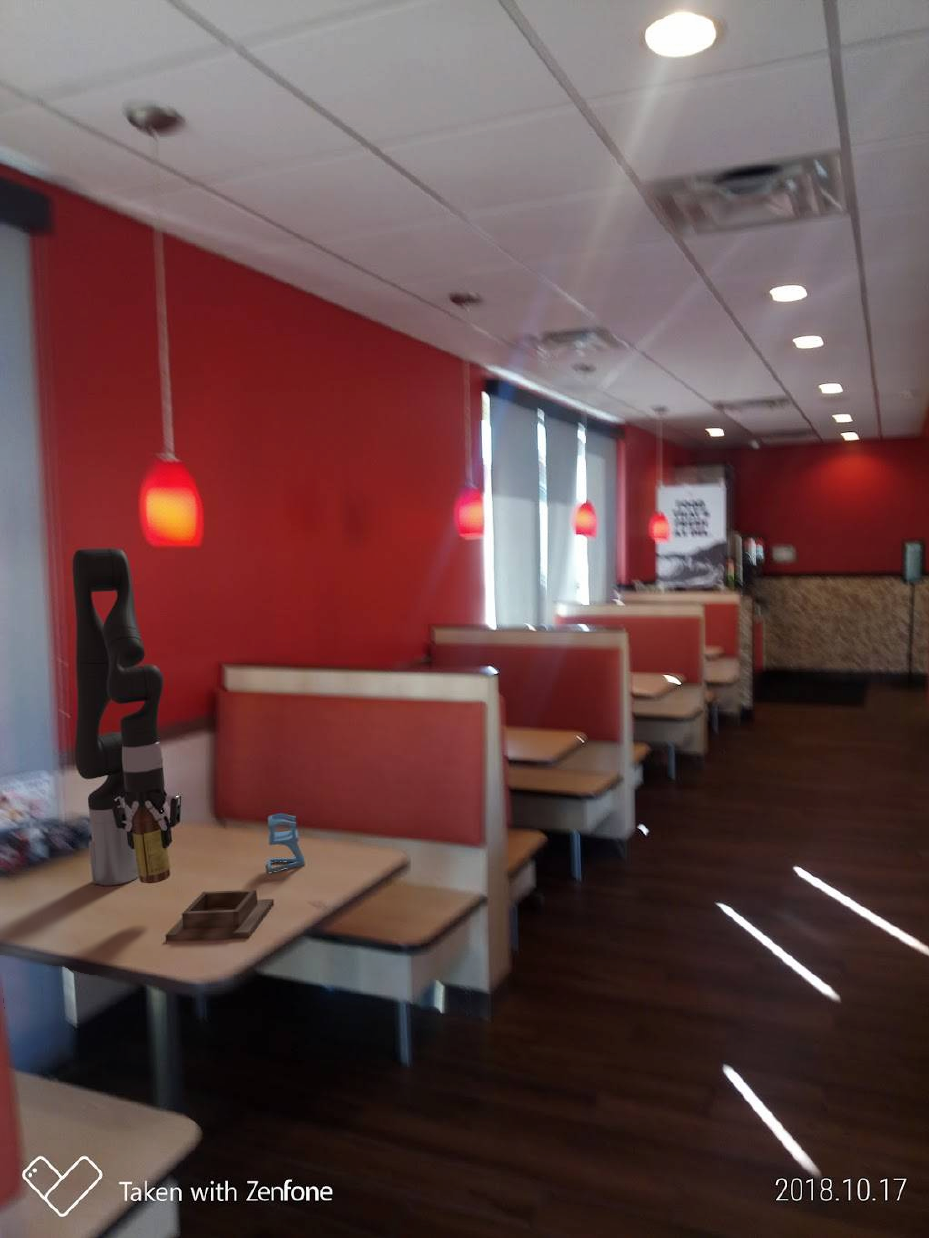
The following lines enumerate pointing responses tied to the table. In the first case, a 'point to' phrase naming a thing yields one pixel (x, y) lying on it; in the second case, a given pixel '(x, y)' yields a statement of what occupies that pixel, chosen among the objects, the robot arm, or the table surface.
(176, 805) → the robot arm
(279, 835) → the chair
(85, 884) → the table surface
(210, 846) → the table surface
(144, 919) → the table surface
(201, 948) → the table surface
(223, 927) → the bottle caddy
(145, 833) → the sauce bottle
